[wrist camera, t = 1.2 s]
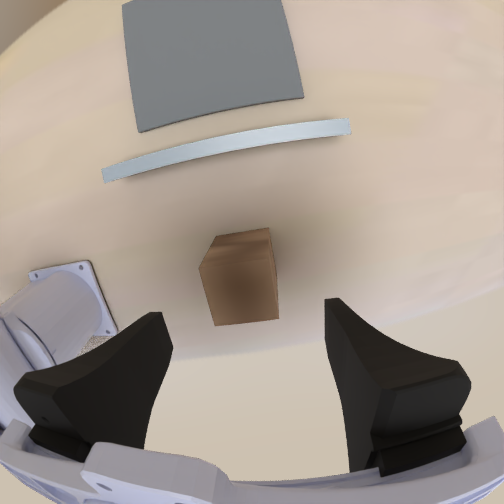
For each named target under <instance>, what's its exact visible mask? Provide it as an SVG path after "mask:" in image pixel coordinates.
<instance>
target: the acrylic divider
mask: <svg viewBox="0 0 504 504" xmlns="http://www.w3.org/2000/svg"><path fill="white" fill-rule="evenodd" d="M348 134H351V129H350V123H349V118H343V119H331V120H321V121H312V122H303V123H295V124H288V125H281V126H274V127H268V128H261V129H255V130H250V131H244V132H239V133H234V134H229V135H224V136H219V137H214V138H210V139H205V140H201V141H197V142H192V143H188V144H184V145H180V146H176V147H173V148H169V149H165V150H161V151H158V152H154V153H151V154H147V155H144V156H141V157H137V158H134V159H131V160H128V161H124V162H121V163H118V164H115V165H112V166H109V167H106V168H103V169H101V170H102V175H103V179H104V183H107V182H110V181H114V180H117V179H120V178H124V177H127V176H131V175H134V174H138V173H141V172H145V171H148V170H152V169H156V168H160V167H163V166H167V165H171V164H175V163H179V162H183V161H188V160H192V159H196V158H201V157H205V156H210V155H215V154H219V153H224V152H229V151H235V150H240V149H245V148H251V147H257V146H263V145H269V144H275V143H282V142H289V141H296V140H303V139H312V138H320V137H329V136H339V135H348Z"/></svg>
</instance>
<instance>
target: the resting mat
mask: <svg viewBox="0 0 504 504" xmlns="http://www.w3.org/2000/svg"><path fill="white" fill-rule="evenodd" d="M122 14H123V27H124V38H125V47H126V56H127V64H128V72H129V79H130V86H131V93H132V100H133V106H134V112H135V117H136V123H137V129H138V133H142V132H145V131H149V130H152V129H155V128H158V127H162V126H165V125H169V124H172V123H176V122H180V121H183V120H187V119H191V118H195V117H199V116H203V115H208V114H212V113H216V112H221V111H226V110H231V109H236V108H241V107H246V106H252V105H258V104H264V103H270V102H277V101H284V100H292V99H300V98H304V93H303V88H302V83H301V79H300V74H299V69H298V65H297V61H296V56H295V52H294V48H293V44H292V40H291V36H290V32H289V28H288V24H287V20H286V17H285V13H284V9H283V6H282V2H281V0H133V1H130V2H128V3H125V4H123V5H122Z"/></svg>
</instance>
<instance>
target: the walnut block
mask: <svg viewBox="0 0 504 504" xmlns="http://www.w3.org/2000/svg"><path fill="white" fill-rule="evenodd" d="M199 272H200V275H201V279H202V283H203V286H204V290H205V293H206V297H207V301H208V304H209V308H210V311H211V314H212V318H213V321H214V325H215V326H222V325H232V324H241V323H250V322H258V321H266V320H274V319H279V310H278V290H277V275H276V269H275V263H274V257H273V251H272V245H271V239H270V233H269V228H264V229H257V230H251V231H245V232H238V233H232V234H226V235H220V236H216V237H215V239H214V241H213V243H212V245H211V246H210V248H209V250H208V252H207V254H206V256H205V258H204V259H203V261H202V263H201V265H200V267H199Z"/></svg>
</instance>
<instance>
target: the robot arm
mask: <svg viewBox="0 0 504 504" xmlns="http://www.w3.org/2000/svg"><path fill="white" fill-rule="evenodd" d="M81 265H82V266H83V268H82V267H81ZM28 276H29V279H30V281H31V282H30V283H29V284H27V285H26V286H25V287H23V288H22V289H21V290H20V291H18V292H17V293H16V294H14V295H13V296H12V297H11V298H9V299H8V300H7V301H6V302H4V303H3V304H2V305H1V306H0V463H1V464H2V465H3V466H4V467H5V468H6V469H7V470H8V471H9V472H11V473H12V474H13V475H14V476H15V477H16V478H18V479H19V480H20V481H21V482H22V483H23V484H25V485H26V486H28V487H30V488H31V489H33V490H35V491H36V492H38V493H40V494H41V495H43V496H45V497H46V498H48V499H50V500H52V501H54V502H55V503H57V504H473V503H475V502H477V501H479V500H480V499H482V498H484V497H485V496H487V495H488V494H489V493H491V492H492V491H493V490H494V489H495V488H497V487H498V486H499V485H500V484H501V483H502V482H503V481H504V432H503V430H502V429H501V427H500V425H499V423H498V422H497V419H496V418H495V416H492V417H490V418H488V419H486V420H484V421H481V422H479V423H477V424H475V425H473V426H471V427H469V428H468V429H466V430H465V431H464V432H462V430H461V427H460V425H461V424H462V419H461V417H460V415H459V413H460V411H461V409H462V407H463V405H464V404H465V402H466V400H467V397H468V395H469V392H470V390H471V381H470V379H469V377H468V376H467V374H466V372H465V371H464V369H463V368H462V366H461V365H460V364H459V362H458V361H455V360H450V359H445V358H441V357H436V356H433V355H429V354H426V353H423V352H420V351H418V350H415V349H412V348H410V347H408V346H405V345H403V344H401V343H399V342H397V341H395V340H393V339H391V338H390V337H388V336H386V335H384V334H383V333H381V332H380V331H378V330H377V329H375V328H374V327H373V326H371V325H370V324H368V323H367V322H366V321H364V320H363V319H362V318H361V317H360V316H358V315H357V314H356V313H355V312H354V311H353V310H352V309H351V308H349V307H348V306H347V305H346V304H345V303H344V302H343V301H342V300H341V299H340V298H331V299H324V300H325V342H326V348H327V353H328V359H329V362H330V365H331V368H332V372H333V375H334V378H335V382H336V385H337V389H338V392H339V395H340V399H341V404H342V410H343V416H344V423H345V431H346V438H347V447H348V457H349V470H350V473H346V474H340V475H334V476H326V477H318V478H308V479H298V480H282V481H230V480H229V478H228V476H227V475H226V474H225V473H224V472H223V471H221V470H220V469H219V468H218V467H217V466H216V465H214V464H211V463H209V462H206V461H204V460H201V459H199V458H193V457H188V456H184V455H177V454H169V453H161V452H155V451H148V450H144V444H145V438H146V433H147V428H148V423H149V419H150V415H151V411H152V407H153V404H154V401H155V399H156V396H157V394H158V391H159V389H160V386H161V384H162V381H163V379H164V377H165V374H166V372H167V369H168V367H169V363H170V360H171V355H172V351H173V344H172V342H171V339H170V336H169V333H168V330H167V327H166V324H165V321H164V318H163V315H162V312H149V313H147V314H146V315H144V316H143V317H141V318H140V319H138V320H137V321H135V322H134V323H132V324H131V325H130V326H128V327H127V328H125V329H124V330H123V331H121V332H120V333H118V334H117V332H118V331H117V328H116V326H115V324H114V322H113V320H112V317H111V315H110V313H109V310H108V308H107V306H106V303H105V301H104V298H103V296H102V293H101V291H100V288H99V286H98V283H97V280H96V278H95V275H94V272H93V270H92V267H91V264H90V263H89V262H88V261H86V260H85V261H80V262H75V263H69V264H64V265H59V266H54V267H49V268H44V269H39V270H34V271H31V272H29V274H28ZM108 330H109V331H110V332H109V331H108ZM116 334H117V335H116ZM92 336H114V337H112V338H111V339H109V340H108V341H106V342H105V343H103V344H102V345H100V346H98V347H97V348H95V349H93V350H91V351H89V352H87V353H85V354H83V355H81V356H79V357H76V356H77V355H78V354H79V352H80V351H81V350H82V348H83V347H84V346H85V345H86V343H87V342H88V341H89V339H90V338H91V337H92Z"/></svg>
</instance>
